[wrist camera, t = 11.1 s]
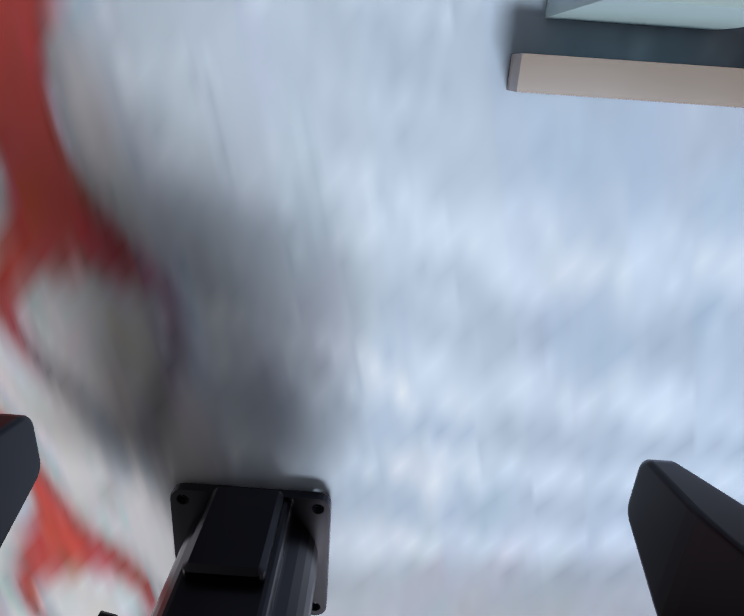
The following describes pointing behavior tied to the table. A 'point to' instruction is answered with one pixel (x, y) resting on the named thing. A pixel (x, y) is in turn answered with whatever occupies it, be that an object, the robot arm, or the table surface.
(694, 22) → the cabinet
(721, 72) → the cleat board
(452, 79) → the table surface
